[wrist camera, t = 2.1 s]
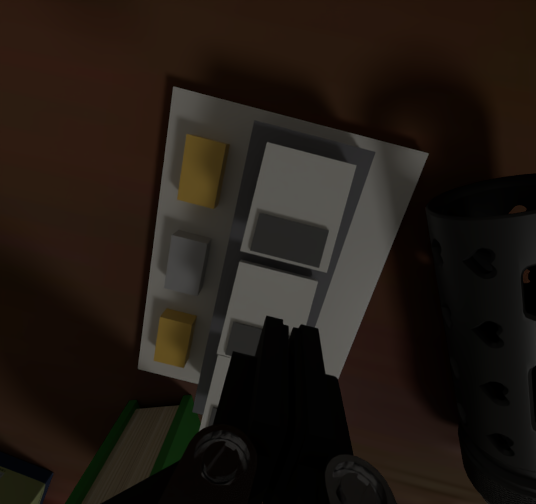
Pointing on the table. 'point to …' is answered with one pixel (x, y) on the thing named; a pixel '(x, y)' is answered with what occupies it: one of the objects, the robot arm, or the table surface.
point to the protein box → (22, 481)
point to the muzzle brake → (491, 328)
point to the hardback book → (137, 449)
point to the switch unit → (234, 224)
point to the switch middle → (263, 305)
